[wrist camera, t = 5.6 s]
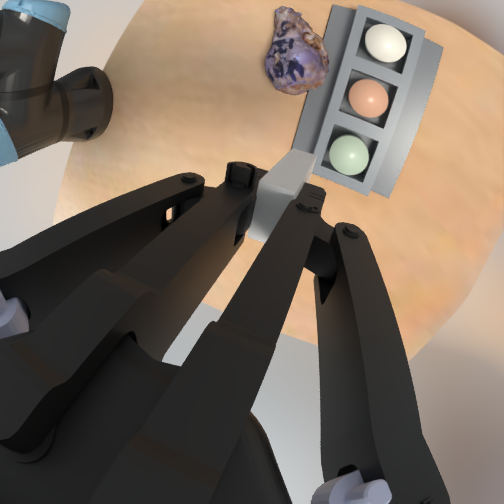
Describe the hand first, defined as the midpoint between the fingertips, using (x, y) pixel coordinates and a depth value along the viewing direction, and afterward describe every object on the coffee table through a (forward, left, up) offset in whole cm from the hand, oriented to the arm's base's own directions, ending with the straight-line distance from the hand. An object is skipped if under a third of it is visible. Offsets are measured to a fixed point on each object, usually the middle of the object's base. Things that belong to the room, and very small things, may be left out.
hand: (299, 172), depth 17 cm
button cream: (+3, +13, -17) cm, 22 cm away
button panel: (+3, +6, -20) cm, 21 cm away
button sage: (+3, -1, -17) cm, 17 cm away
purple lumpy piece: (-6, +9, -20) cm, 22 cm away
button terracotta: (+3, +6, -18) cm, 19 cm away
